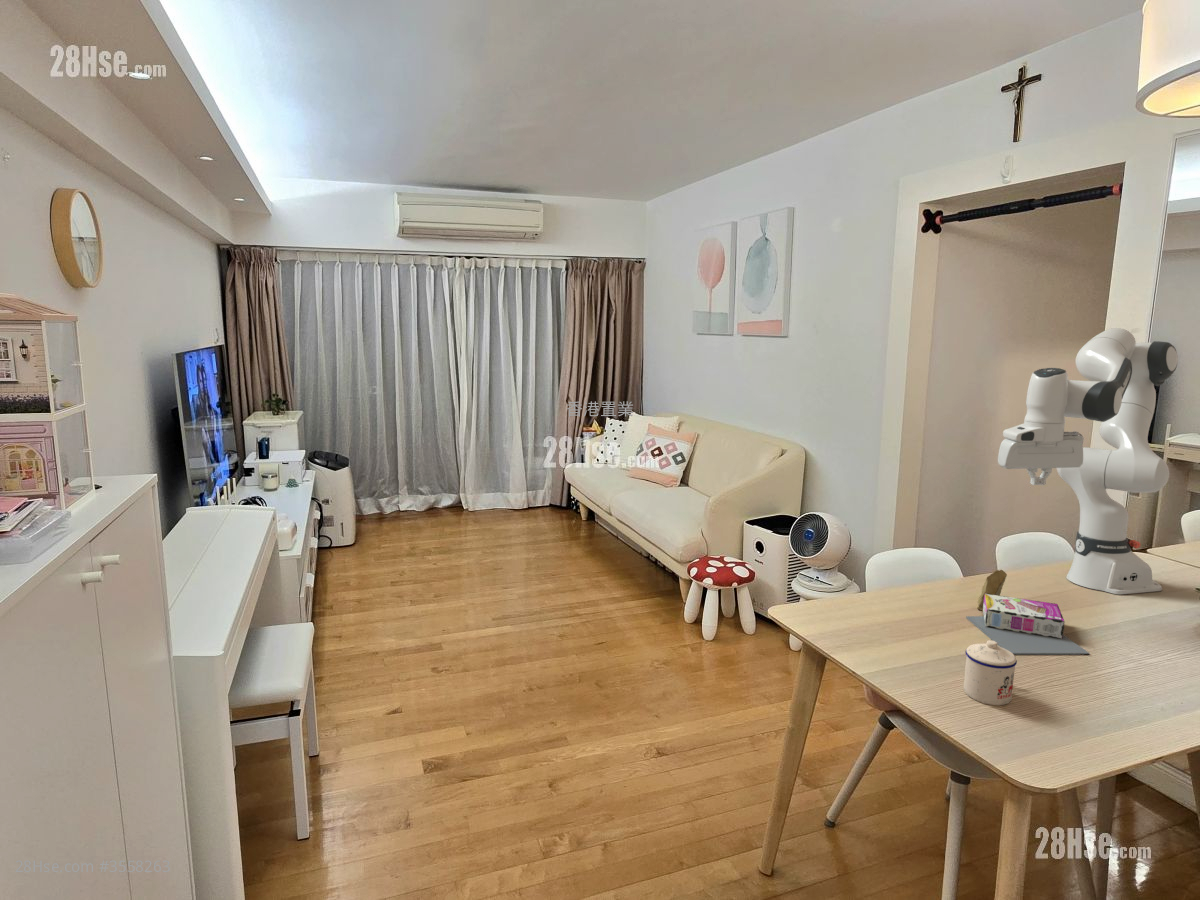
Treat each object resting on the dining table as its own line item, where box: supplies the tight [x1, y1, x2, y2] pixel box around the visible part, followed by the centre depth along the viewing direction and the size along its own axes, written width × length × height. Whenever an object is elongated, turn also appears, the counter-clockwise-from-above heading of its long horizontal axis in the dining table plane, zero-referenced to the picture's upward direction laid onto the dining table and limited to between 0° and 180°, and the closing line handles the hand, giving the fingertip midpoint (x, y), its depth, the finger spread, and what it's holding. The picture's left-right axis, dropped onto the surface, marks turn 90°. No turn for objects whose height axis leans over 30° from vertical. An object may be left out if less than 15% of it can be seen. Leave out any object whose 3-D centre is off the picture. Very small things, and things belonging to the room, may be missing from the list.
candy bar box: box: [982, 594, 1066, 639], centre depth 172 cm, size 11×5×16 cm
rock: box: [977, 569, 1008, 612], centre depth 185 cm, size 11×9×10 cm
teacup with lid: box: [963, 639, 1018, 706], centre depth 141 cm, size 12×9×12 cm
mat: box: [965, 615, 1090, 656], centre depth 167 cm, size 18×20×1 cm
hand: (1037, 484), depth 180 cm, fingers closed
